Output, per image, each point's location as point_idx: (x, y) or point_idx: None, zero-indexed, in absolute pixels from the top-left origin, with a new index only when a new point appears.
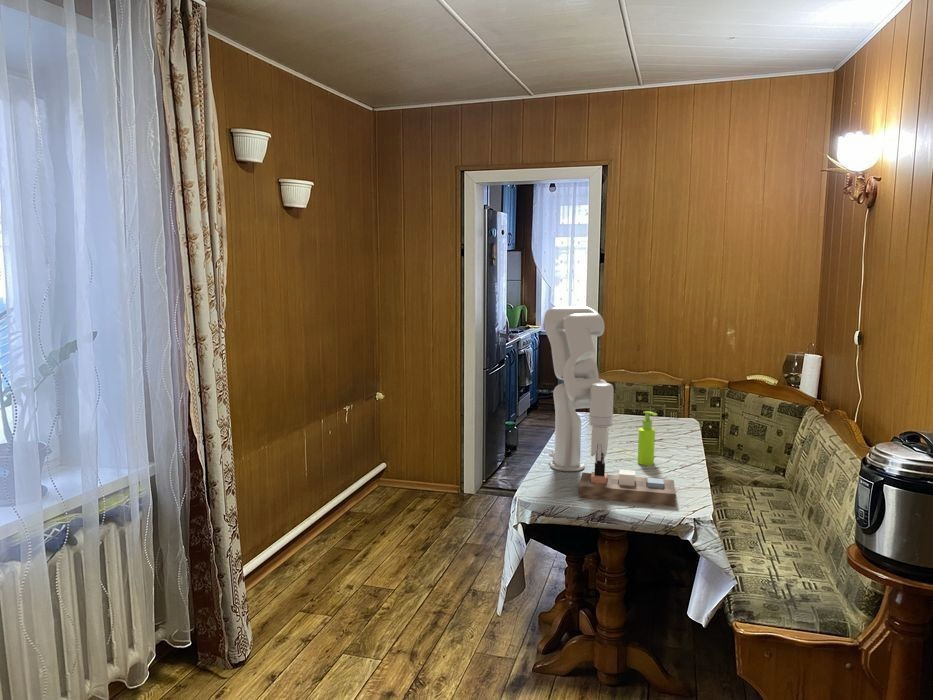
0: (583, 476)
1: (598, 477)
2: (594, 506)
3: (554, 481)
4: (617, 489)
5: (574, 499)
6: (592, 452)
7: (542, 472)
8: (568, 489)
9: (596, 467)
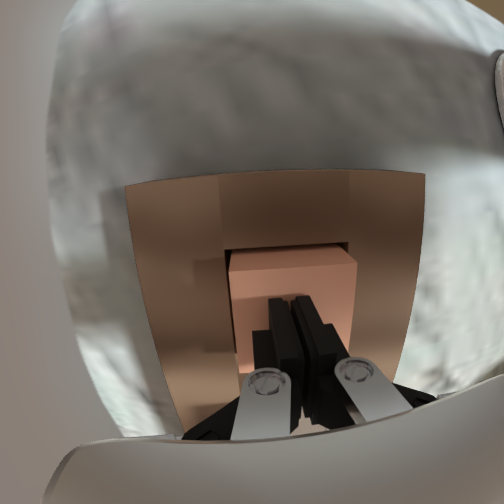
0: (348, 186)
1: (234, 325)
2: (78, 276)
3: (372, 31)
4: (172, 395)
5: (119, 168)
6: (47, 492)
7: (451, 7)
8: (270, 102)
9: (274, 349)
